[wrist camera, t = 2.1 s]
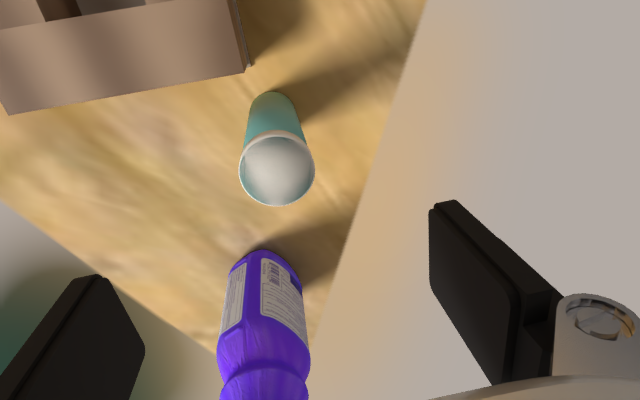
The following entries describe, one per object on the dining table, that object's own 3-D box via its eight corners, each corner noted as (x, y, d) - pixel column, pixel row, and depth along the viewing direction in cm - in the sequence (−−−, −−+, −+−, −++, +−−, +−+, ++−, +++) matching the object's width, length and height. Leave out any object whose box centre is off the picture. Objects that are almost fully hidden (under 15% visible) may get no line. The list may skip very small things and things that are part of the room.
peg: (291, 86, 27) (308, 128, 17) (300, 133, 29) (320, 198, 18) (243, 95, 27) (229, 143, 16) (255, 141, 29) (249, 212, 18)
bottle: (217, 266, 34) (176, 475, 18) (264, 233, 33) (263, 423, 17) (266, 309, 37) (266, 518, 21) (310, 280, 36) (344, 476, 20)
